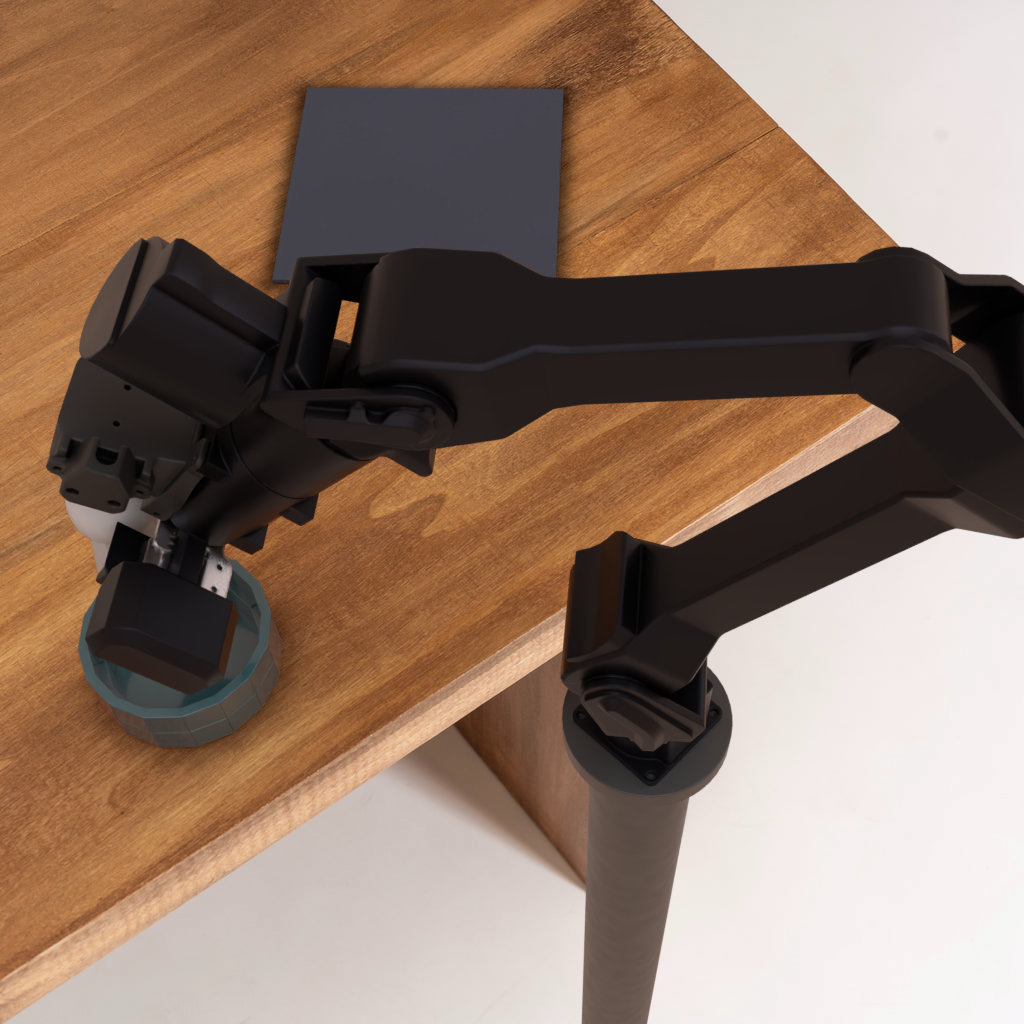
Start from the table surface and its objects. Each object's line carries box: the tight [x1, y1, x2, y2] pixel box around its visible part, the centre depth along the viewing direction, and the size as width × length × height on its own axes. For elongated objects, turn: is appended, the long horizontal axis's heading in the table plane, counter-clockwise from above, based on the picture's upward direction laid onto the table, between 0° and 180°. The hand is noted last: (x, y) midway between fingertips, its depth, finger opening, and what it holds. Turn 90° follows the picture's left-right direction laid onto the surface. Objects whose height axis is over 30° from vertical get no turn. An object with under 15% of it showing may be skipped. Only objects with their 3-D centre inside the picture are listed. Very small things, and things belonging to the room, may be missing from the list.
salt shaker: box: [64, 498, 175, 586], centre depth 74 cm, size 6×6×13 cm
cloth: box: [271, 87, 565, 284], centre depth 106 cm, size 20×20×1 cm
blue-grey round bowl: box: [77, 553, 283, 748], centre depth 83 cm, size 11×11×4 cm
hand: (113, 552), depth 75 cm, fingers closed on salt shaker, 3 cm apart
